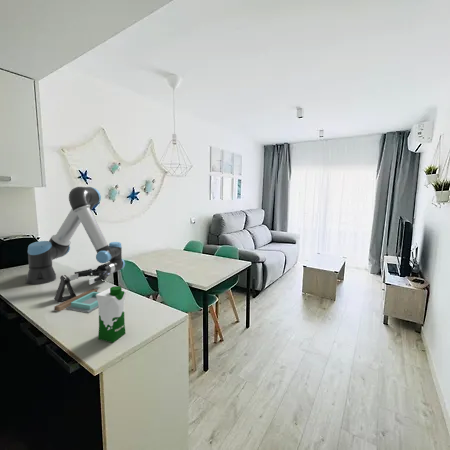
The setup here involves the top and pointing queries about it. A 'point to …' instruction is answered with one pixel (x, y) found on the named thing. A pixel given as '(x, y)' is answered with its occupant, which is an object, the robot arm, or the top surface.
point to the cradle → (85, 303)
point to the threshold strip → (68, 302)
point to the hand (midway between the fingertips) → (78, 280)
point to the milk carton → (111, 314)
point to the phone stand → (61, 288)
